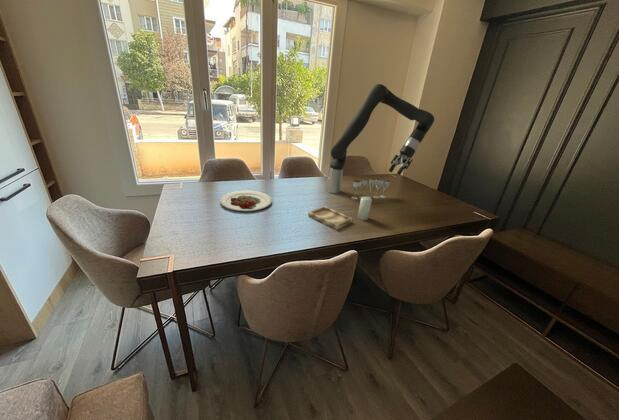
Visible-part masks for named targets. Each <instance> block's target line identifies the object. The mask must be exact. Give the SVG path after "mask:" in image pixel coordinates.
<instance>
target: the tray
mask: <svg viewBox="0 0 619 420" xmlns="http://www.w3.org/2000/svg"><path fill="white" fill-rule="evenodd" d="M307 217H308V218H311V219H313V220H315V221H317V222H319V223H321V224H322V225H325V226H327V227H329V228H331V229H334V230H336V231H338V230H340V229H342V228H343V227H345V226H347V225H349V224H351V223H352V221H353V218H352V217H350V216H348V215H345V214H343V213H342V212H339V211H337V210H334V209H333V208H330V207H328V206H325V205H323V206H321V207H319V208H316V209H313V210H310V211H308V215H307Z"/></svg>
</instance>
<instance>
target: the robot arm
mask: <svg viewBox="0 0 619 420" xmlns="http://www.w3.org/2000/svg"><path fill="white" fill-rule="evenodd" d="M380 103H381V104H384V105H387V106H389V107H390V108H392V109H394V110H395V112H397V113H399V114H400V115H402V116H403V117H405V118H407V119H408V120H410V121H416V122H417V123H418V124H417V125H416V127H415V129H413V131H412V132H411V134H410V135H409V137H408V139H407V140H406V141H405V142H404V144H403V145H402V147H401V148H400V150H399V155H398V154H395V155H394V157H393V159H392V160H391V161H390V168H389V169H388V171H389V172H390V173H393V171H394V170H395V168H396V166H399V165H400V167H399V169H398V170H397V171H396V174H397V175H399V176H400V175H401V174H402V173H403V172H404V170H407V169H409V167H410V165H411V164H412V162H413V156H414V155H415V153H416V151H417V150H418V148H419V147H420V145H421V143H422V141H423V140H424V139H425V136H426V135H427V134H428V132H429V130H430V129H431V127H432V126H433V124H434V123H435V116H434V115H433V113H431V112H430V111H426V110H424V109H420V108H419V107H416V106H415V105H414V104H412V103H410V102H408V101H406V100H405V99H402V98H400V97H399V96H397V95H395V94H394V93H393V92H392V91H390V89H388V87H387V86H385V85H384V84H383V83H377V84H375V85H374V86H372V88H371V89H370V91H369V93H368V95H367V97H366V98H365V100H364V102H363V104H362V105H361V107H360V108H359V109H358V110H357V112H356V113H355V115H354V116H353V117H352V119H351V120H350V121H349V123H348V125H347V126H346V128H345V130H344V132H343V133H342V135H341V137H340V138H339V139H338V140H337V142H336V143H335V144H333V145H334V146H333V147H332V148H331V150H330V157H332V160H331V162H330V166H329V173H328V177H327V180H326V186H325V191H327V192H328V193H330V194H339V193H341V187H342V180H343V179H342V178H343V174H344V167H345V163H346V159H347V153H348V150H347V149H348V148H349V146H350V145H351V144H352V142H353V141H354V140H355V139H357V138H358V136H359V135H360V134H361V133H362V131H363V130H364V128H365V127H366V126H367V125H368V123H369V121H370V119H371V115H372V113H373V112H374V110H375V108H376V107H377V106H378V105H379V104H380Z"/></svg>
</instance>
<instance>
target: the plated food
mask: <svg viewBox="0 0 619 420" xmlns="http://www.w3.org/2000/svg"><path fill="white" fill-rule="evenodd" d="M219 202H220V205H222V206H223V207H225V208H226V209H228V210H229V209H230V210H233V211H240V212H250V211H251V212H252V211H259V210H262V209H265V208H267V207H269V206H270V205H271V204H272V202H273V199H272V197H271V196H270V195H269V194H267V193H264V192H261V191H256V190H249V189H248V190H236V191H232V192H229V193H225V194H224V195H223V196H221V198H220V200H219Z"/></svg>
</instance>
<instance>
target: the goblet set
mask: <svg viewBox="0 0 619 420" xmlns="http://www.w3.org/2000/svg"><path fill="white" fill-rule="evenodd" d="M368 181H369V182H368ZM367 185H369V187H368V188H369V194H368V195H367V196H365V197H369V198H371V199H372V198H374V199H380V198H384V199H386V198H387V197H386V195H384V194H385V191H386V189H388V188H389V186H390V180H388V179H383V178H379V177H378V178H377V177H376V179H375V178H369V180H368V179H366V178H363V179H362V180H359V179H358V180H355V179H354V180H353V182H352V188H353V189H354V192H355V193H354V195H356V194H357V191H358V190H359V189H362V195H361V196H359V197H357V196H351V199H352V200H358V199H361V197H362V196H363V195H364V191H365V188H366V187H367ZM374 186H375V187H376V192H375V195H373V196H370V195H371V191H372V189H373V187H374ZM381 187H382V188H383V193H382V194H381V195H379V196H378V191H379V189H380V188H381Z"/></svg>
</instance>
